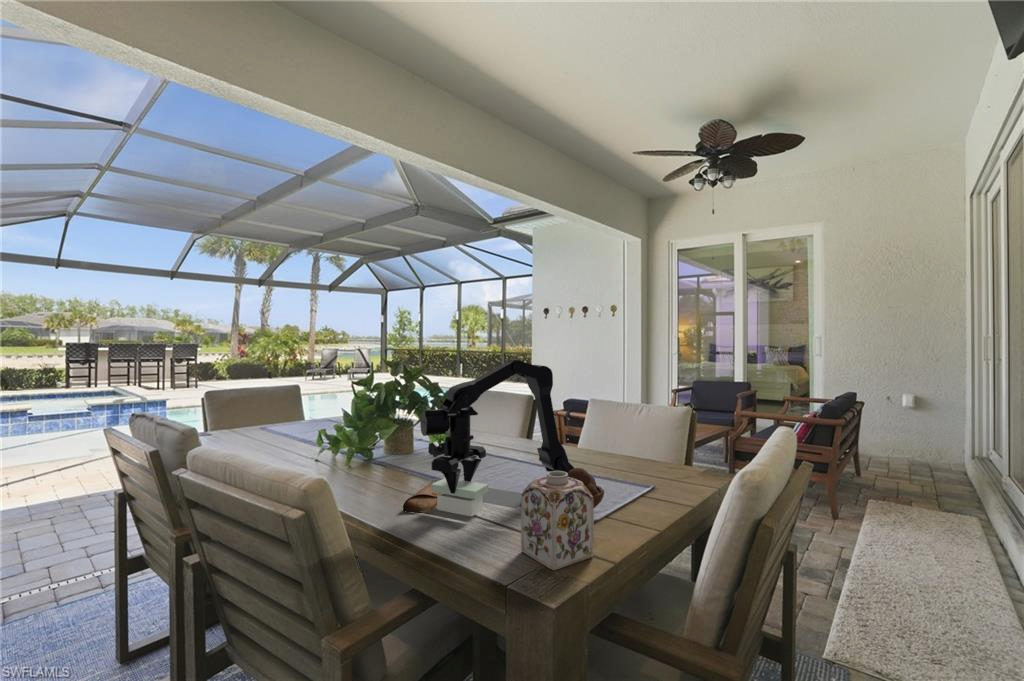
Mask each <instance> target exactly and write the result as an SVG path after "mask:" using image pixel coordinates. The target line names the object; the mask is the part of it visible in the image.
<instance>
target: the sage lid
mask: <svg viewBox="0 0 1024 681" xmlns="http://www.w3.org/2000/svg"><path fill="white" fill-rule="evenodd" d="M432 483H433V484H431V492H437V493H442V494H448V495H453V496H459V497H465V498H470V499H477V498H479V497H480V496H482V495H484V494H485V493H487V492H488V488H489V484H488V483H481V482H475V481H471V482H469V481H464V479H463V480H461V479H459V480H458V484H457V488H456V491H455V493H454V494H453V493H451V492H450V489H449V487H448V484H447V481H446V478H445V477H444V478H442V479H440V480H437V481H436V482H432Z"/></svg>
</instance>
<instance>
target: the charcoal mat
mask: <svg viewBox="0 0 1024 681" xmlns="http://www.w3.org/2000/svg"><path fill="white" fill-rule="evenodd" d="M521 495H522V492H517V491H513V490H511V491H510V490H506V489H498V488H493V487H488V492H487V493H485V494H484V495H483V503H485V504H492V505H495V506H502V507H507V508H513V509H517V508H518V507H520V506H521Z"/></svg>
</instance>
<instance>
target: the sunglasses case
mask: <svg viewBox="0 0 1024 681" xmlns="http://www.w3.org/2000/svg"><path fill="white" fill-rule="evenodd" d="M433 483H434V482H433V481H431V482H430V483H429V484H428V485H426V486H424V487H423V488H421V489H420V490H418V491H417V492H416V493H415V494H413V495H412V496H410V497H408V498H407V499H406V500H405V502H404V503H403V505H402V510H403V512H404V513H407V512H414V513H413V514H420V513H426V512H430V511H432V510H434V509H435V508H436V507H437V495H439V494H441V493H437V492H431V484H433ZM405 511H406V512H405Z"/></svg>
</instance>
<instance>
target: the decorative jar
mask: <svg viewBox="0 0 1024 681" xmlns="http://www.w3.org/2000/svg"><path fill="white" fill-rule="evenodd" d="M521 493H522V495H521V505H520V509H521V510H520V511H521V513H520V520H521V521H520V541H521V542H520V544H521V545H520V546H521V550H520V551H521V553H524V555H527V556H528V557H529V558H532V559H533V560H535V561H536V562H538V563H539V564H542V565H543V566H545V567H546V568H548V569H550V570H551V569H552V570H551V571H553V570H554V571H558V570H560V569H563V568H565V567H568V566H571V565H574V564H577V563H580V562H582V561H584V560H588V559H591V558H592V557H594V547H595V546H594V544H595V542H594V540H595V539H594V538H595V537H594V536H595V533H594V531H595V527H594V526H595V523H594V509H595V508H594V509H593V496H592V495H591V493H590V491H589V490H588V489H587V488H586V486H585V485H584V484H583V482H582V481H579V480H576V479H574V478H570V477H568V473H566V472H564V471H551V472H548V471H547V473H546V476H540V477H537V478H534V479H533V480H531V482H530V483H529V484H528V485H527V486H526V487H525V488H524V489H523V491H522V492H521Z"/></svg>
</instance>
